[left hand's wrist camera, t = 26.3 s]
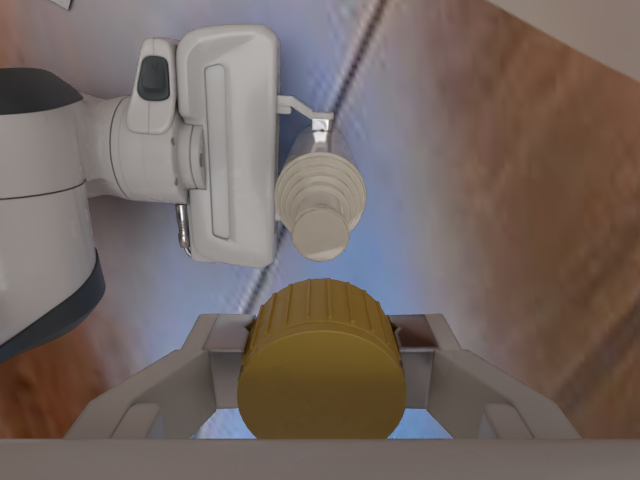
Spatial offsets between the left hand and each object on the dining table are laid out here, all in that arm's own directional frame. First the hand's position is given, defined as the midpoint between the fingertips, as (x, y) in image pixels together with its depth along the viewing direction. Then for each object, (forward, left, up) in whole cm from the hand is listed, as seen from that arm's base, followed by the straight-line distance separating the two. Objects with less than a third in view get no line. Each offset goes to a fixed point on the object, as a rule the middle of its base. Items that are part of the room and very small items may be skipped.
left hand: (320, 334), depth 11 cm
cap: (0, 0, +2) cm, 2 cm away
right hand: (+1, -1, -24) cm, 24 cm away
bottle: (0, 0, -30) cm, 30 cm away
